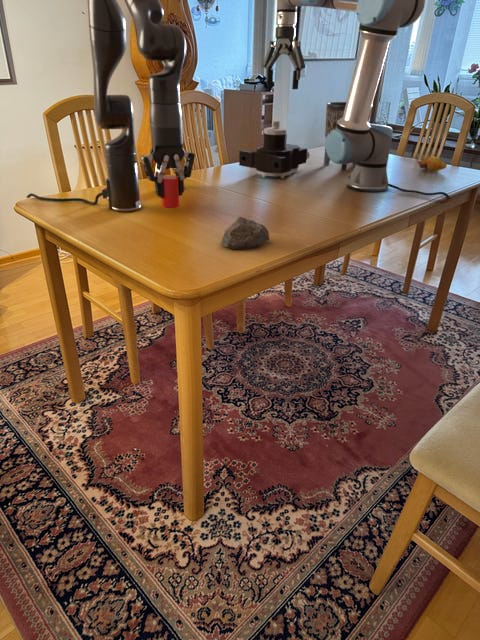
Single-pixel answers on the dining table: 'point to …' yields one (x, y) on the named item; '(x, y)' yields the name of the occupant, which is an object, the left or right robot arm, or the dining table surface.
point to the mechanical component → (274, 154)
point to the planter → (332, 116)
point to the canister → (170, 191)
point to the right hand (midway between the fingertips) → (282, 88)
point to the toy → (432, 164)
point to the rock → (245, 234)
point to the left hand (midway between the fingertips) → (170, 195)
